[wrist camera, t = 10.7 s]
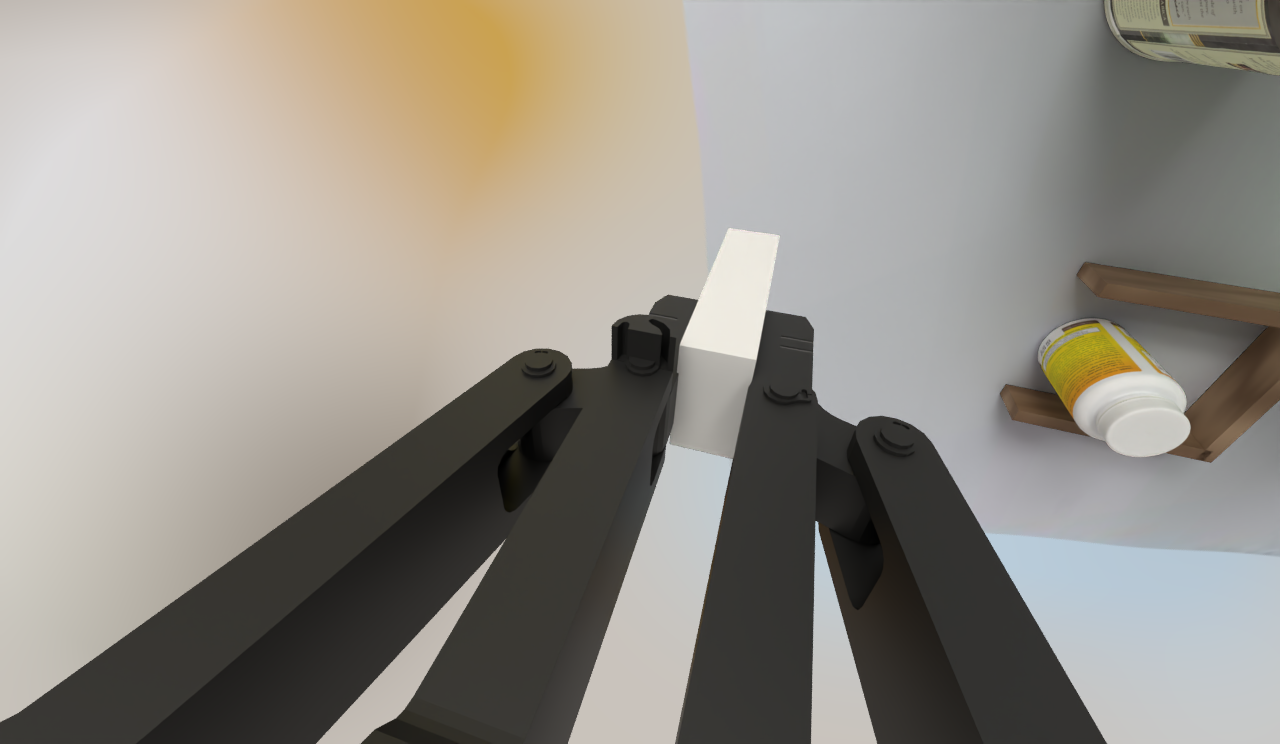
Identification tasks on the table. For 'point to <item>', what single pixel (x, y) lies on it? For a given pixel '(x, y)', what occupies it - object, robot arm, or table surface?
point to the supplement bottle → (1114, 388)
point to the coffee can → (1201, 31)
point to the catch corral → (1233, 400)
